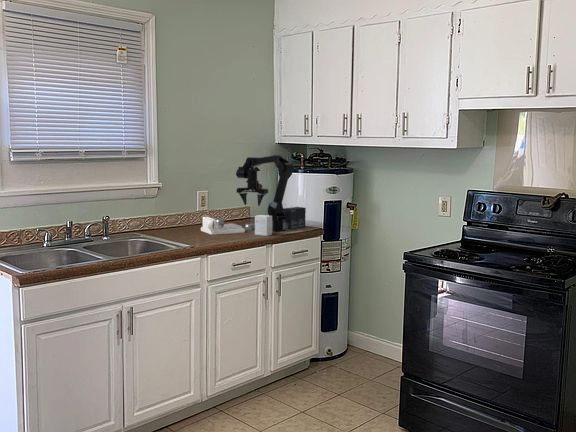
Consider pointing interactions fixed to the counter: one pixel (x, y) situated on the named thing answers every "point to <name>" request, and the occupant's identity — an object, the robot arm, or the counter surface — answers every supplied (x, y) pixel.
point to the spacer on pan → (220, 222)
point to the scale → (212, 227)
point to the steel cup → (249, 226)
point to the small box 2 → (294, 217)
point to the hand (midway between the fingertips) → (252, 205)
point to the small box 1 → (263, 225)
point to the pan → (229, 226)
